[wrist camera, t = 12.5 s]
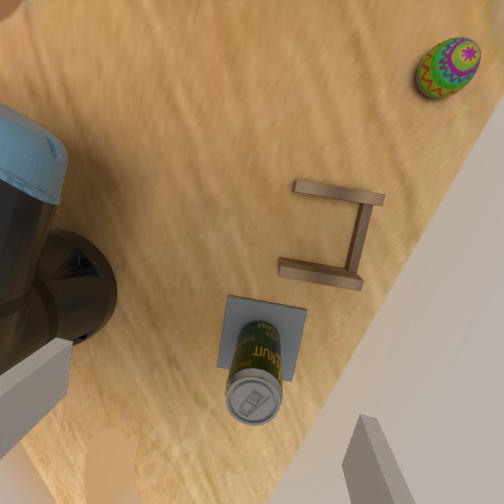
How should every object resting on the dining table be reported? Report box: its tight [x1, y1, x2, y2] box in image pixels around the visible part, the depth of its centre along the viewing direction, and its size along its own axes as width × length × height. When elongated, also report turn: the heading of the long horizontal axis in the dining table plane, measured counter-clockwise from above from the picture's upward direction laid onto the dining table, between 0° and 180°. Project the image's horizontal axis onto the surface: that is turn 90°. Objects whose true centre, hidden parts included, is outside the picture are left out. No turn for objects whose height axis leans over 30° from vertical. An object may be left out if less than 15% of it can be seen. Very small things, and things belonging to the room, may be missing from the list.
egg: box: [416, 37, 481, 98], centre depth 29 cm, size 5×5×6 cm
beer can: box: [225, 321, 283, 426], centre depth 33 cm, size 5×5×12 cm
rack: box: [278, 180, 385, 291], centre depth 34 cm, size 9×10×4 cm
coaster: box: [217, 295, 307, 382], centre depth 39 cm, size 10×10×1 cm
